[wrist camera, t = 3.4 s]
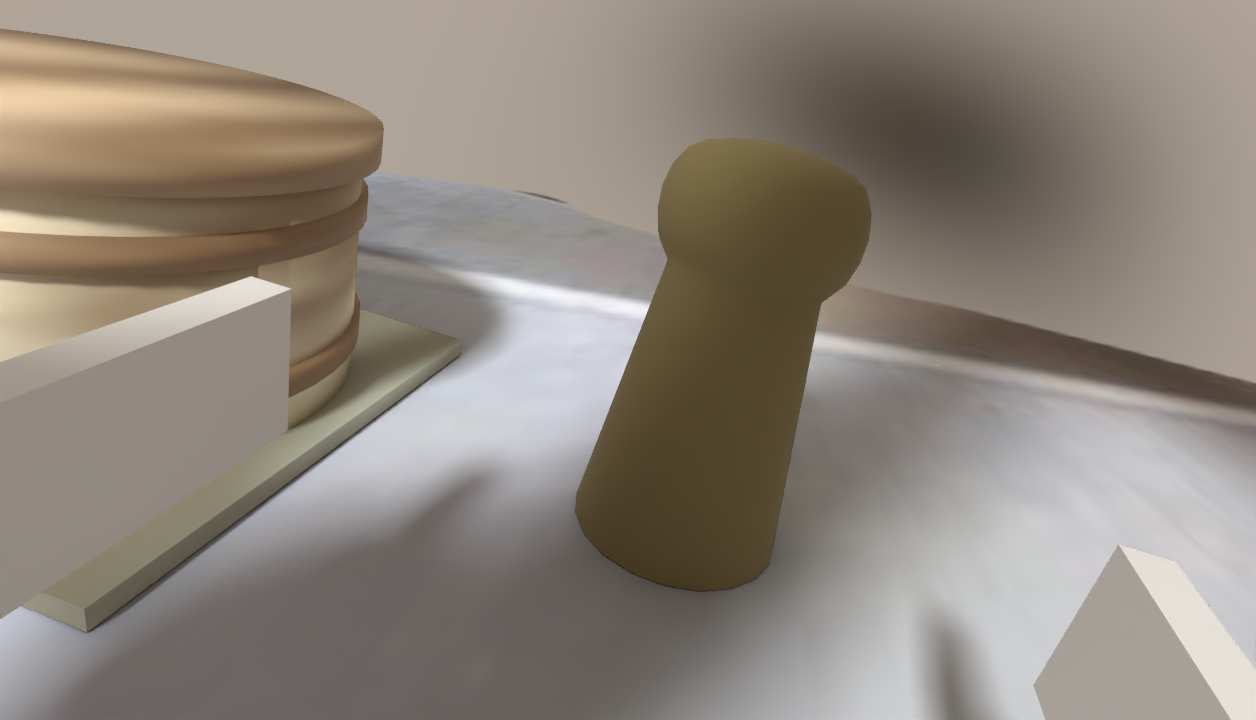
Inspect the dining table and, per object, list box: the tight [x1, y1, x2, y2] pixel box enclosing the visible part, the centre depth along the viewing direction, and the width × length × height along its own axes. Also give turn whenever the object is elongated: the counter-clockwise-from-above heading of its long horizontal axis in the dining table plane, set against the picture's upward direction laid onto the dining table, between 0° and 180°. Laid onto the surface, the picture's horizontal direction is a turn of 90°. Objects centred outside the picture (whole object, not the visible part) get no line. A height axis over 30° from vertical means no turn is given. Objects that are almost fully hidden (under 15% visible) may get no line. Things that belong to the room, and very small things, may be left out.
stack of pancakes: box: [0, 29, 462, 632], centre depth 21 cm, size 16×16×9 cm
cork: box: [575, 138, 871, 591], centre depth 20 cm, size 6×6×11 cm
